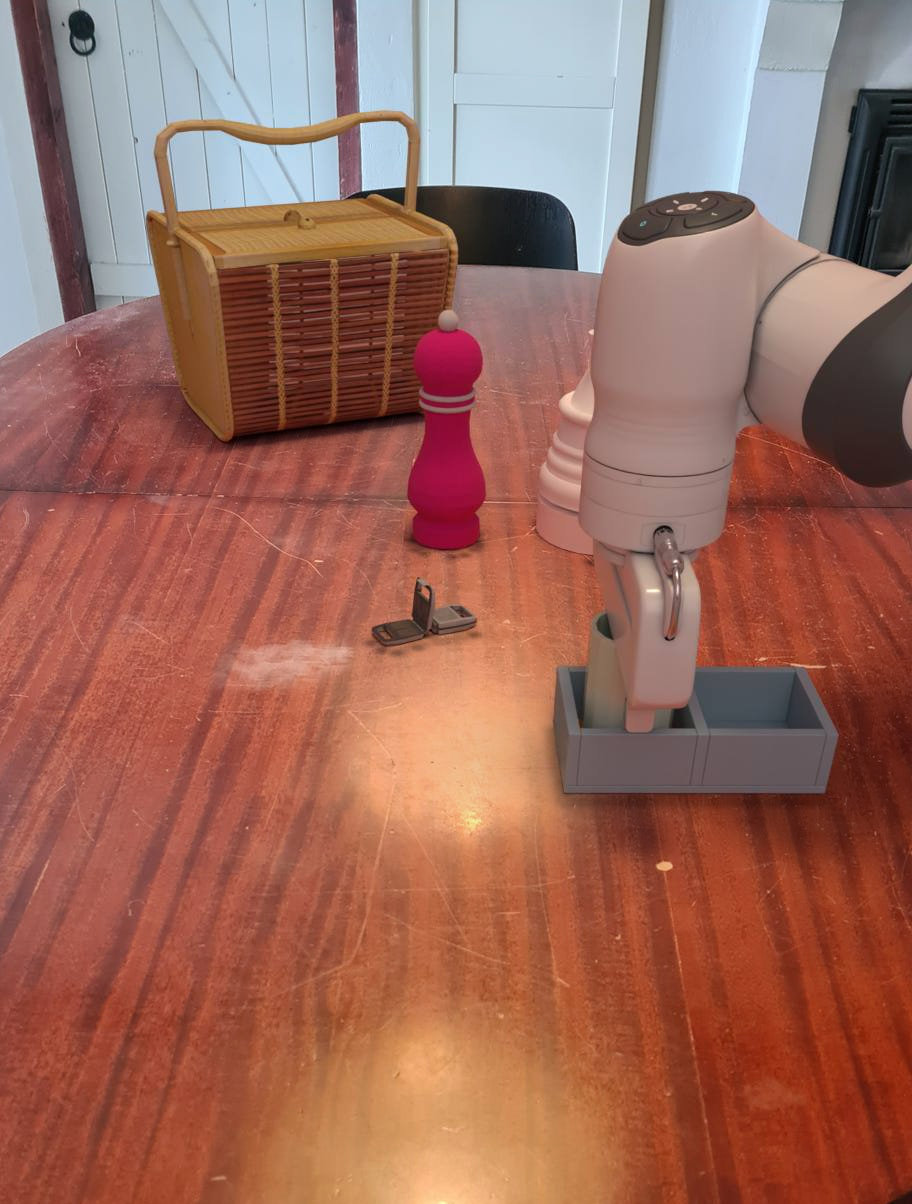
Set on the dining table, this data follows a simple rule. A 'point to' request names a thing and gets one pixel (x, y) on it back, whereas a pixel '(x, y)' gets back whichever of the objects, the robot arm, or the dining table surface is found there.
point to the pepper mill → (447, 439)
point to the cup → (608, 682)
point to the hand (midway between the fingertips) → (629, 698)
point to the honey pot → (566, 472)
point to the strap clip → (426, 618)
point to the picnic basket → (299, 295)
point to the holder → (704, 738)
